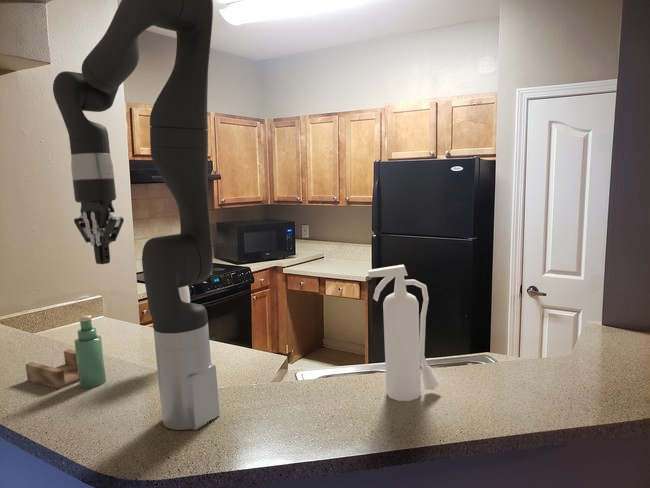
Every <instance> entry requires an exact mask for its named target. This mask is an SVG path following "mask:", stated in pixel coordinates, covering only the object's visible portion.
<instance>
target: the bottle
mask: <svg viewBox="0 0 650 488" xmlns="http://www.w3.org/2000/svg"><path fill="white" fill-rule="evenodd" d="M92 318H93V317H92V315H91V314H87V315H86V314H85V315H81V316H79V317H78V320H79V323H80V326H79V327H80V329H79V330H77V337H78V338H76V339H75V340H74V351H76V359H77V367H78V375H79V382H78V383H79V387H80V388H81V389H92V388H97V387H101V386H103V385H104V384H105V383H106V382H107V375H106V368H105V359H104V353H103V352H104V350H103V342H102V336H101V335H98V333H97V327H93V323H92V322H93V321H92V320H93V319H92Z"/></svg>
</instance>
